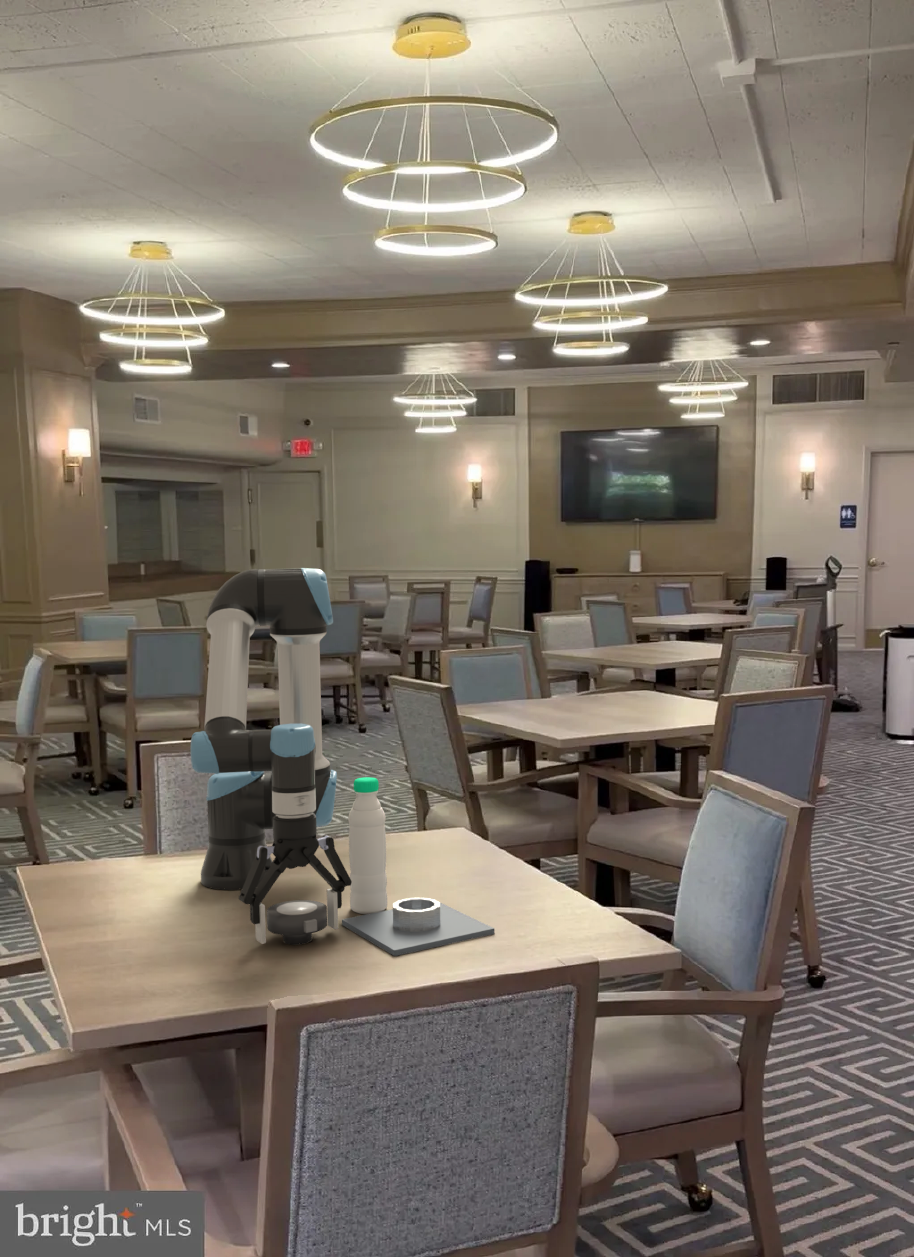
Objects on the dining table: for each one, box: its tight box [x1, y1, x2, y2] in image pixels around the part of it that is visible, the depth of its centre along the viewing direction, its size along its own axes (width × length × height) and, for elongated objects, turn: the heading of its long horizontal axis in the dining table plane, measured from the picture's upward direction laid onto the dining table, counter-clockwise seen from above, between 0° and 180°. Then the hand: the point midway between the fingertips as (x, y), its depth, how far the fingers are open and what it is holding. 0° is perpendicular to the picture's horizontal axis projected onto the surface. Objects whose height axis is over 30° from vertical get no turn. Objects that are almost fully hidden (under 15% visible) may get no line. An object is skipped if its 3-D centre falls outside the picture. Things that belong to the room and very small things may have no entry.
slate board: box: [341, 902, 495, 957], centre depth 203 cm, size 20×20×1 cm
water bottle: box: [347, 776, 388, 915], centre depth 215 cm, size 7×7×25 cm
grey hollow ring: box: [392, 896, 441, 932], centre depth 203 cm, size 8×8×4 cm
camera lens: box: [266, 899, 328, 946], centre depth 198 cm, size 12×10×6 cm
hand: (297, 934), depth 198 cm, fingers open, 13 cm apart
